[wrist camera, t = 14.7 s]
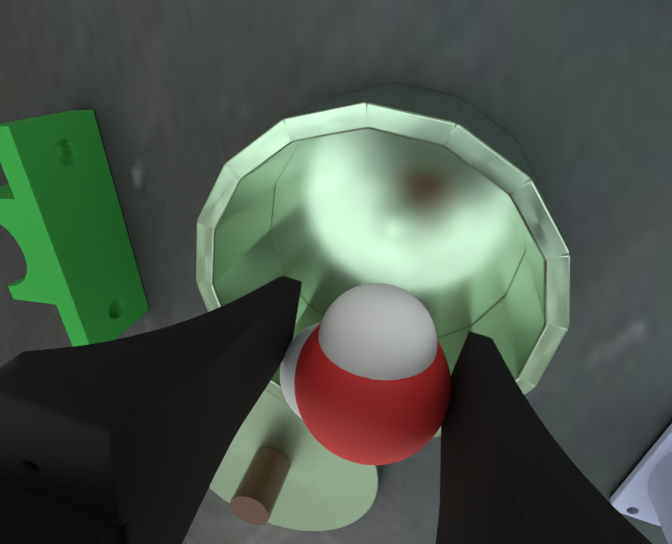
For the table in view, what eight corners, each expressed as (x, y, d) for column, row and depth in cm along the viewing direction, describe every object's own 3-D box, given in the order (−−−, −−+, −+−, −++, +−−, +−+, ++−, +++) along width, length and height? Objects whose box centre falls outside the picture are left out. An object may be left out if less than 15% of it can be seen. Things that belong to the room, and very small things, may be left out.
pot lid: (405, 408, 24) (393, 478, 20) (358, 540, 31) (342, 611, 27) (185, 336, 26) (136, 388, 22) (185, 475, 33) (148, 533, 29)
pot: (599, 126, 16) (660, 168, 11) (482, 378, 22) (486, 479, 17) (275, 55, 17) (197, 63, 12) (252, 307, 24) (194, 380, 19)
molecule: (439, 400, 15) (431, 521, 11) (299, 368, 15) (249, 470, 12) (472, 267, 12) (475, 366, 8) (303, 239, 13) (241, 317, 9)
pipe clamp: (32, 109, 22) (-65, 124, 18) (95, 109, 21) (8, 124, 17) (96, 304, 27) (32, 349, 23) (149, 310, 26) (92, 359, 22)
